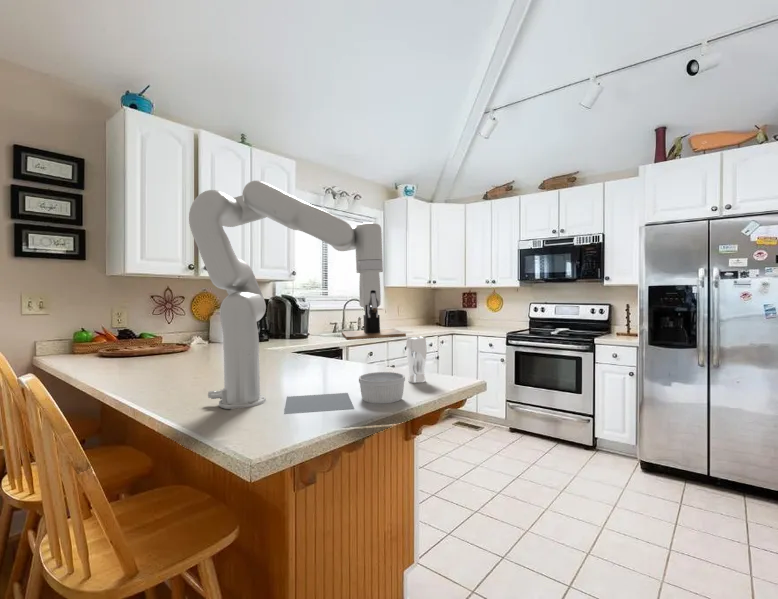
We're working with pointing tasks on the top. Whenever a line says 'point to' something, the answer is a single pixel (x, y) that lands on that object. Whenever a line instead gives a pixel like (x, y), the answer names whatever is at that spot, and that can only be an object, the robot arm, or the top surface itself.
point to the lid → (365, 335)
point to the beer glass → (416, 358)
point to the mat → (318, 403)
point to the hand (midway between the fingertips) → (371, 330)
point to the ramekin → (382, 387)
